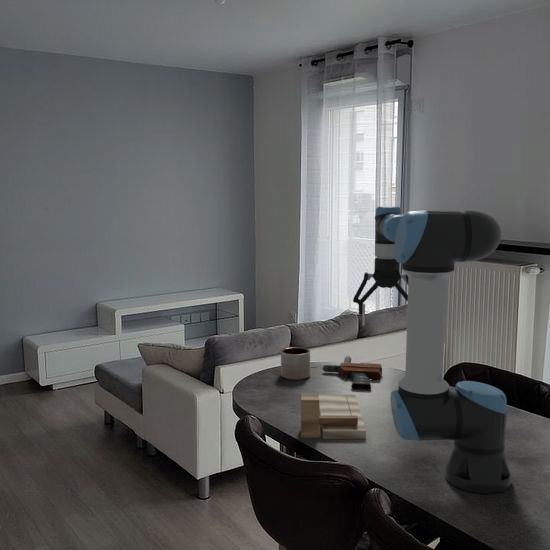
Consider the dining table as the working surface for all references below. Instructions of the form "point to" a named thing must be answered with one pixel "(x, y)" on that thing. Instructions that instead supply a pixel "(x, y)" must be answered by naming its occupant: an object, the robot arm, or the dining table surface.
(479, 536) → the dining table surface
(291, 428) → the dining table surface
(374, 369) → the tool
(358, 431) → the board
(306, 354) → the planter
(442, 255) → the robot arm
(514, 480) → the dining table surface
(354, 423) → the brown block with tab
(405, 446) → the dining table surface
